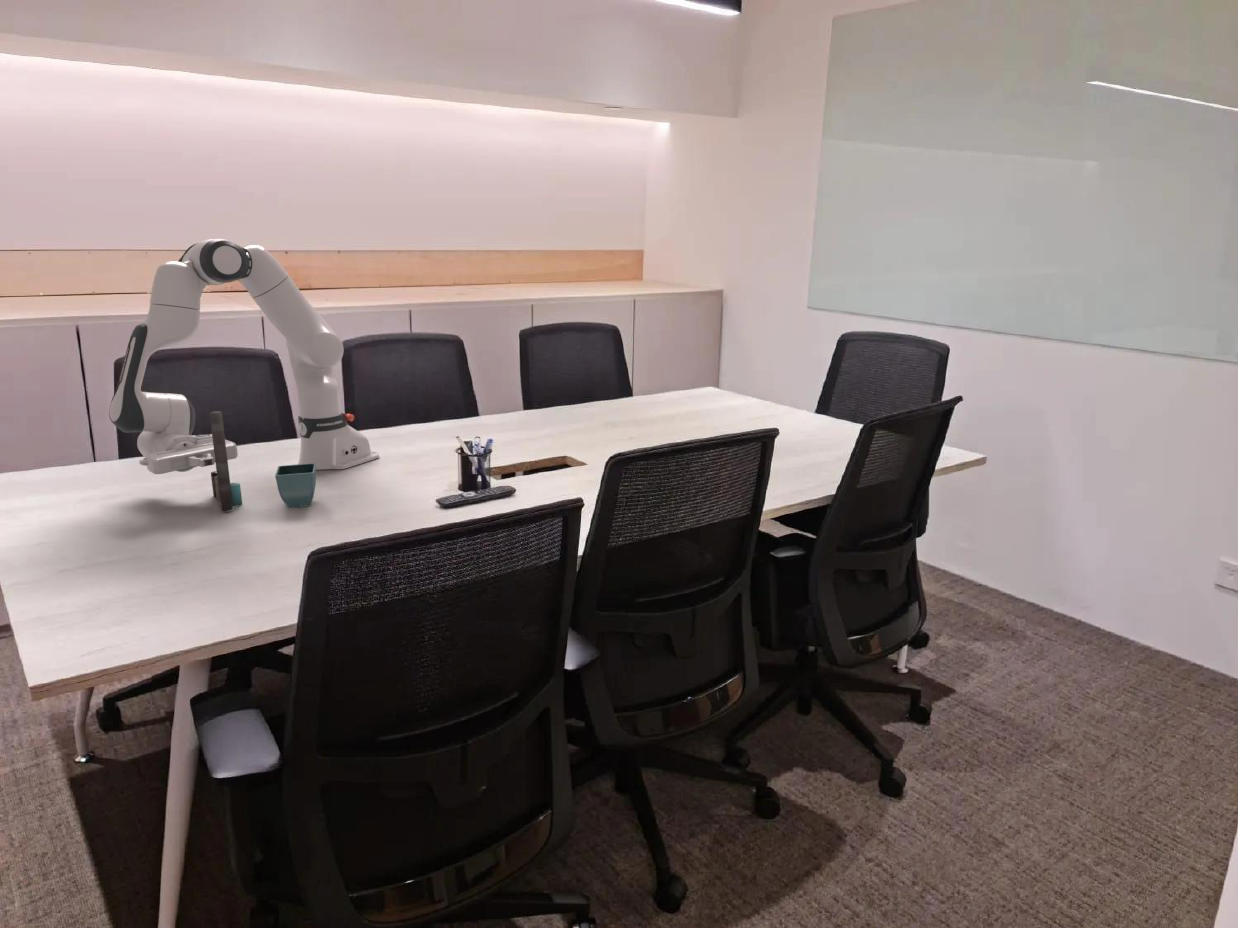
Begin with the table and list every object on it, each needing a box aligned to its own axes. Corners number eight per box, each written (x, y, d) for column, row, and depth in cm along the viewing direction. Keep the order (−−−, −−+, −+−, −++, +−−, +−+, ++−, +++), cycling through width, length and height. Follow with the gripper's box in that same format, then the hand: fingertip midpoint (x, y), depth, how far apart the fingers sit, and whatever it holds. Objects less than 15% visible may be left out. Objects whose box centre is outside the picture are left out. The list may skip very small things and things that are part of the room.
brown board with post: (213, 495, 221) (202, 403, 215) (225, 494, 222) (213, 402, 216) (222, 512, 209) (210, 414, 202) (234, 510, 210) (222, 413, 204)
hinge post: (221, 493, 225) (218, 470, 223) (225, 495, 223) (222, 472, 222) (211, 495, 223) (208, 472, 221) (216, 497, 221) (213, 474, 220)
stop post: (238, 501, 218) (236, 482, 217) (244, 504, 216) (242, 484, 215) (226, 504, 216) (224, 484, 214) (232, 507, 214) (230, 487, 213)
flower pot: (278, 511, 211) (274, 475, 209) (281, 500, 219) (278, 465, 217) (317, 508, 213) (314, 472, 211) (319, 497, 221) (315, 462, 219)
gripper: (134, 448, 208) (161, 458, 199) (218, 432, 223) (247, 441, 214) (137, 474, 209) (164, 485, 201) (221, 457, 225) (250, 466, 216)
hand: (208, 462), depth 208 cm, fingers closed
